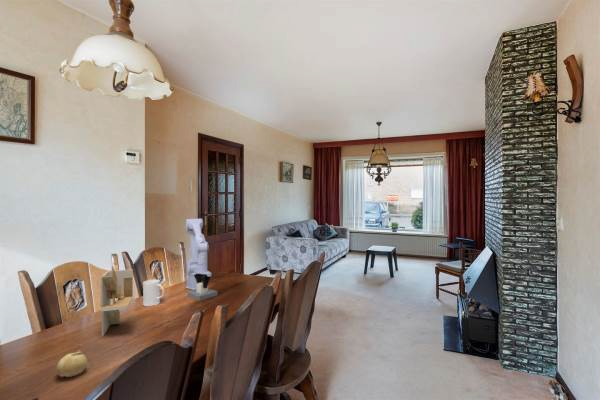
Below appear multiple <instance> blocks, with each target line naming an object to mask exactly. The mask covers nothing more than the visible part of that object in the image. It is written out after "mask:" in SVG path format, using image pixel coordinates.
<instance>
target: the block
mask: <svg viewBox="0 0 600 400" xmlns="http://www.w3.org/2000/svg"><path fill="white" fill-rule="evenodd" d="M208 287H209V285H208V286H207V288H203V281H202V282H201V283H197V284H196V292H197V293H201V294H202V293H205V292H208V289H209V288H208Z"/></svg>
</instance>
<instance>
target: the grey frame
mask: <svg viewBox="0 0 600 400" xmlns="http://www.w3.org/2000/svg"><path fill="white" fill-rule="evenodd" d="M133 281H134V269H133V268H132V269H118V270H116V269H115V268H114V265H112V266H111V270H107V271H106V272H105V273H104V274H102V275H101V276H100V308H101V310H100V311H101V337H104V336H105V335H106V332H107V331H108V330H109V328H110V326H112V325H120V324H121V323H120V322H121V320H120V317H121V316H120V313H121V311H120V310H126V309H128V308H129V306H130V305H131V302H132V301H133V300H134V282H133ZM116 299H117V300H116ZM111 300H112V304H111ZM107 329H108V330H107Z"/></svg>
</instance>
